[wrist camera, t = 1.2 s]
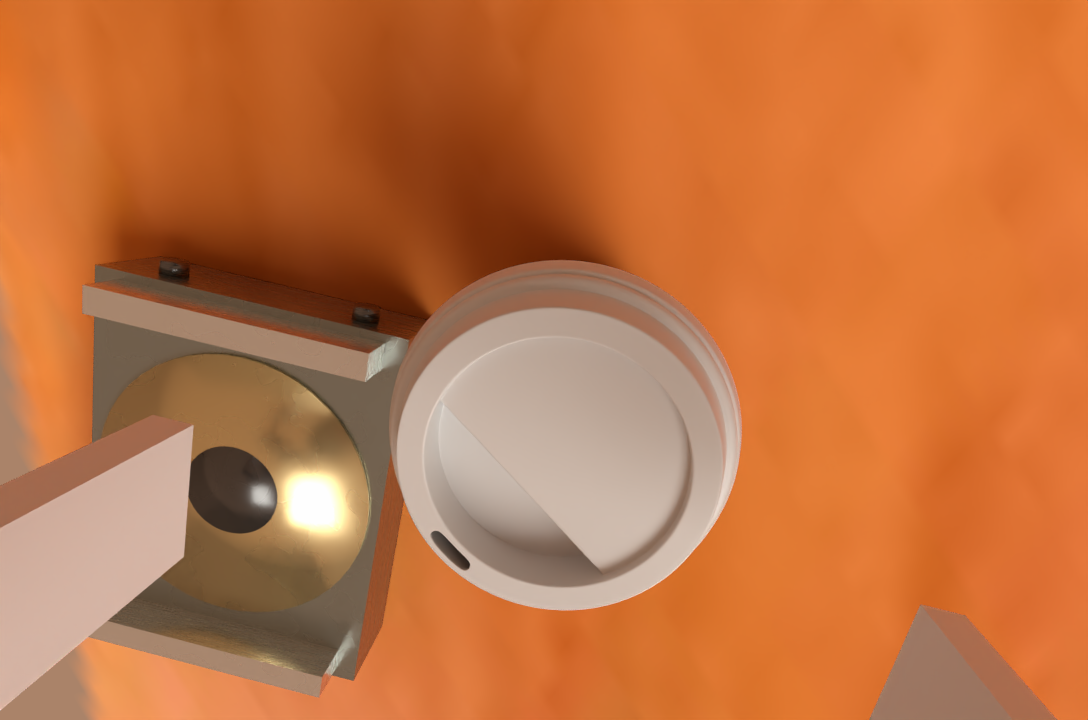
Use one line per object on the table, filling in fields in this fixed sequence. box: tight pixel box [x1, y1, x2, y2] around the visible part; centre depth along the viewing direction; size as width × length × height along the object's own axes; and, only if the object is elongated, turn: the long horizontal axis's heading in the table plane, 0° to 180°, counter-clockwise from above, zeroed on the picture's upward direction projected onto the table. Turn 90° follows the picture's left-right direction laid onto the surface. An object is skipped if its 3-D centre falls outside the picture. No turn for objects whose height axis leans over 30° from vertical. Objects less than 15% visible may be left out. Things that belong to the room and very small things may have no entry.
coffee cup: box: [389, 260, 742, 610], centre depth 22 cm, size 10×10×15 cm
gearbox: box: [82, 256, 427, 697], centre depth 29 cm, size 19×14×6 cm
